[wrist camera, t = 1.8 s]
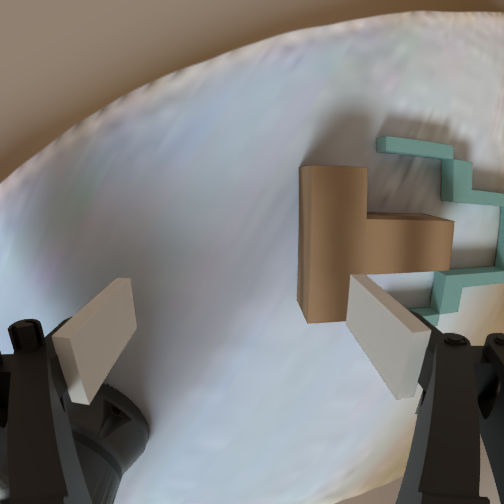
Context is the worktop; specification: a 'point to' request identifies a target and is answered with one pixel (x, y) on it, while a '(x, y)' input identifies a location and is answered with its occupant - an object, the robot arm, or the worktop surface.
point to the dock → (460, 191)
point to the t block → (356, 240)
